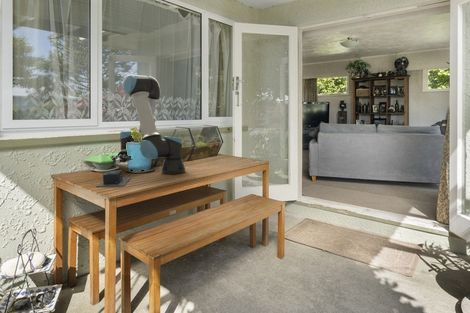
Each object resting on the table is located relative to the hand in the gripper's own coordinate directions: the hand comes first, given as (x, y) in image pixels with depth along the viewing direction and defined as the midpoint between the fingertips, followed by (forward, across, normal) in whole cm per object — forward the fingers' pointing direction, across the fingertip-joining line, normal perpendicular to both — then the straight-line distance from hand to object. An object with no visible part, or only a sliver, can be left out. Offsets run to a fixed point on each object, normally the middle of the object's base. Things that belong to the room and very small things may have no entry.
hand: (117, 162), depth 182 cm
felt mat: (+9, 0, -10) cm, 13 cm away
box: (+5, 0, -7) cm, 8 cm away
